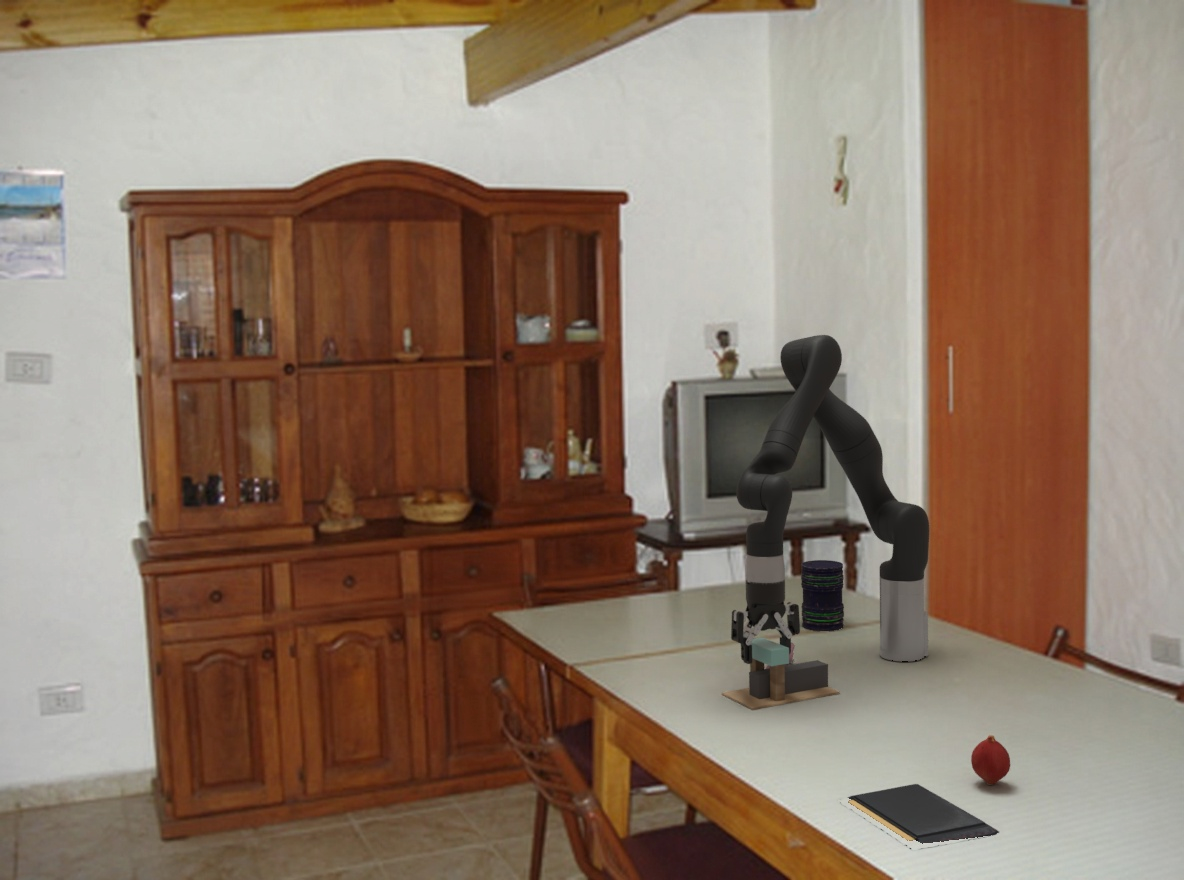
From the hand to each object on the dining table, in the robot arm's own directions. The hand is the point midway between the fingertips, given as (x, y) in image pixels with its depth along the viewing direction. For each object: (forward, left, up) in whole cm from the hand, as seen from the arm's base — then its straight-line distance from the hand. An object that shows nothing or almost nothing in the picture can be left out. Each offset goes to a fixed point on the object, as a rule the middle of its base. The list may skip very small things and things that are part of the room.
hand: (766, 659), depth 239 cm
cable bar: (-5, 0, -7) cm, 9 cm away
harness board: (-3, 0, -7) cm, 8 cm away
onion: (-5, +55, -7) cm, 56 cm away
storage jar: (-41, -39, -7) cm, 57 cm away
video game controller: (-13, -14, -8) cm, 20 cm away
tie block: (0, 0, 0) cm, 0 cm away
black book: (+13, +59, -8) cm, 61 cm away
